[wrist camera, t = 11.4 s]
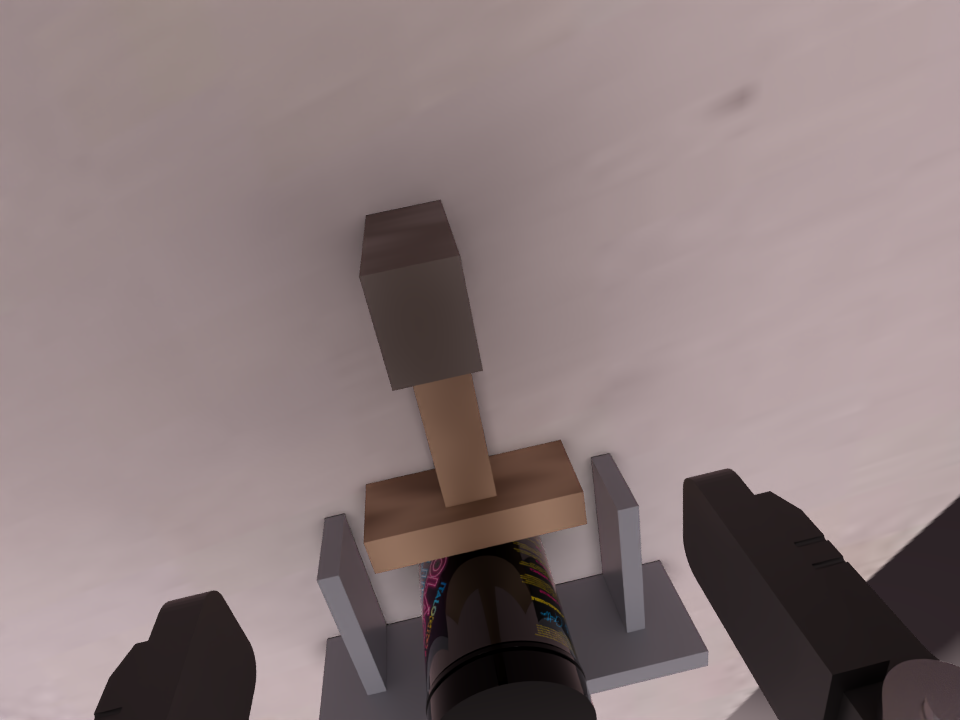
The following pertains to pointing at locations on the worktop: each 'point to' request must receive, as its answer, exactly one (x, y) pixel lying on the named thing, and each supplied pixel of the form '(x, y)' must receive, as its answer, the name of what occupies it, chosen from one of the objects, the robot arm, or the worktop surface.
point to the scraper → (447, 409)
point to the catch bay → (586, 602)
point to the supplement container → (499, 638)
